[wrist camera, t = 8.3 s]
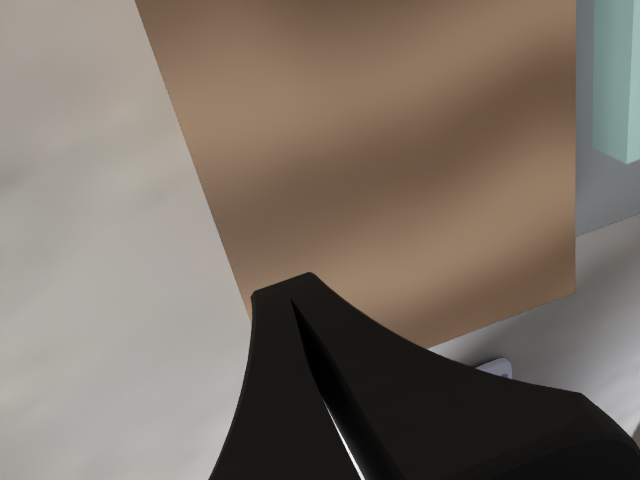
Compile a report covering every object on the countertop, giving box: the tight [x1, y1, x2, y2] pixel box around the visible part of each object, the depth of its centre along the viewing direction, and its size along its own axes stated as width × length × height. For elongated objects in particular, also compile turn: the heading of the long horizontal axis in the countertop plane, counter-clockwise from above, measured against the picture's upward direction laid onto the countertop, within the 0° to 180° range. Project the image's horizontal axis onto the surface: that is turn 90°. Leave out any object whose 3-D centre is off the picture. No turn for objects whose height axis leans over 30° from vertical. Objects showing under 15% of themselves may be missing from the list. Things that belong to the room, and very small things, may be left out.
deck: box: [135, 0, 576, 349], centre depth 20 cm, size 15×12×4 cm
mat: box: [575, 0, 640, 237], centre depth 23 cm, size 16×9×1 cm, turn 12°
